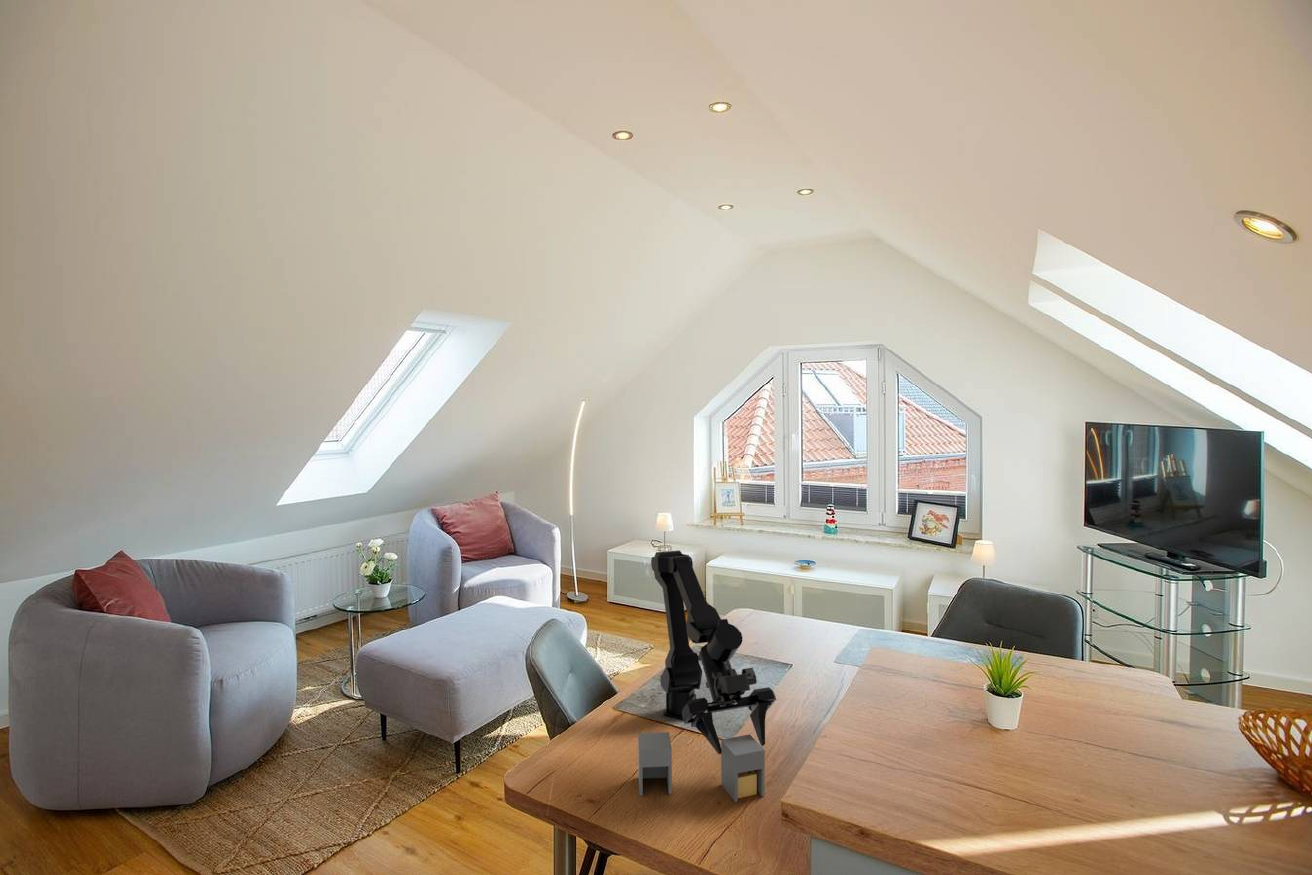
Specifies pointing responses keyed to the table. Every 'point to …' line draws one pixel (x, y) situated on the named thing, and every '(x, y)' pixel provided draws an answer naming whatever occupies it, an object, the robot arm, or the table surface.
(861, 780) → the table surface
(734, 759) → the charcoal cover
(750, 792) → the ochre cube
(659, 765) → the slate cover
